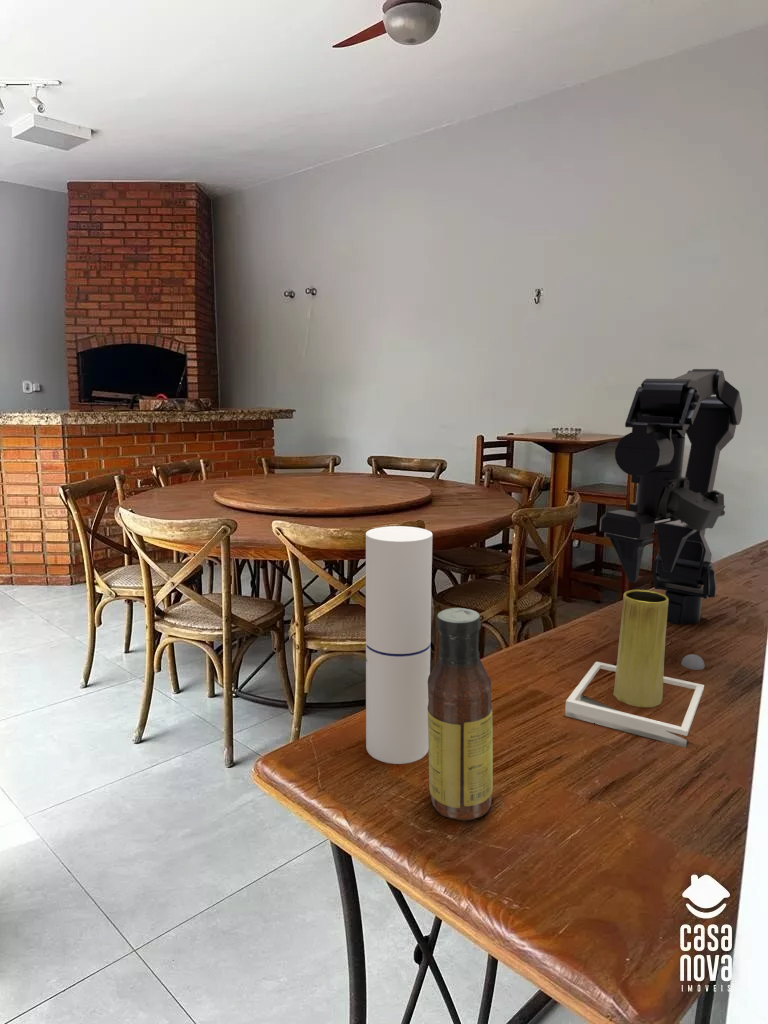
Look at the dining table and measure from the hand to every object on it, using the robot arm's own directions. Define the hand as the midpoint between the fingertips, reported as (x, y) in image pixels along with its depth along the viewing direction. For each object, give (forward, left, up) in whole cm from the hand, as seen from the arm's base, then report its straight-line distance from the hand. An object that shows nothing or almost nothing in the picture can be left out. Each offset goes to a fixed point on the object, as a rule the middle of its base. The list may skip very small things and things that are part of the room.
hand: (650, 576), depth 99 cm
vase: (+14, +7, -13) cm, 20 cm away
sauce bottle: (+46, +8, -13) cm, 48 cm away
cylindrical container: (+44, -4, -13) cm, 46 cm away
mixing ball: (-1, +7, -12) cm, 14 cm away
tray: (+14, +7, -13) cm, 20 cm away
